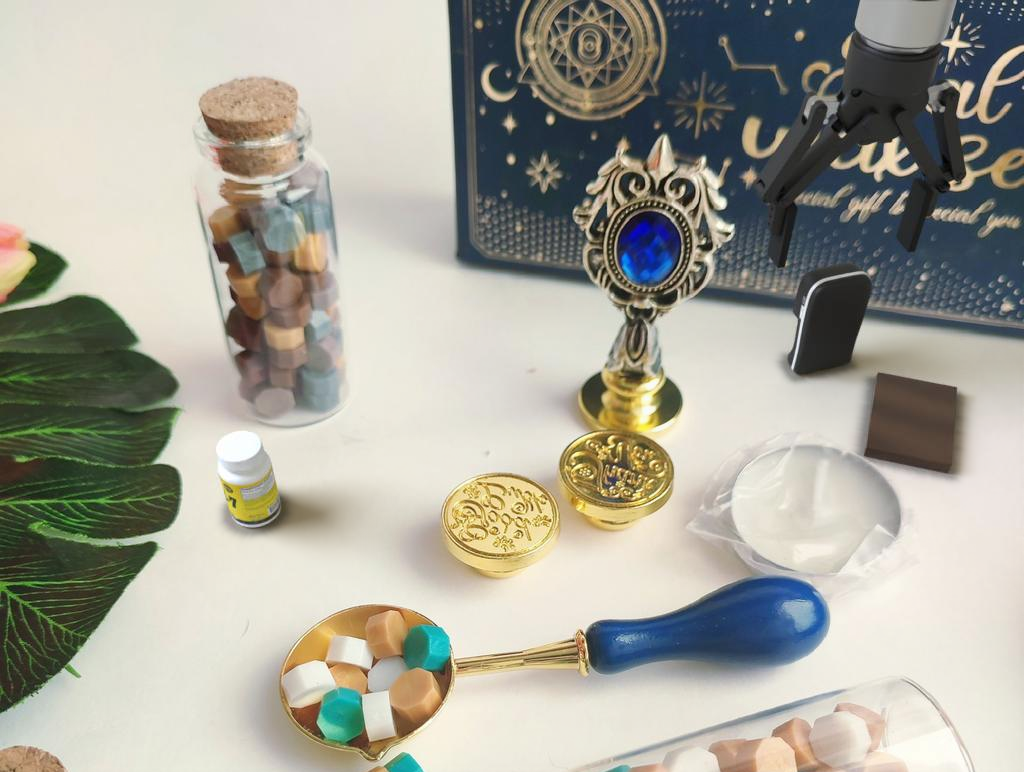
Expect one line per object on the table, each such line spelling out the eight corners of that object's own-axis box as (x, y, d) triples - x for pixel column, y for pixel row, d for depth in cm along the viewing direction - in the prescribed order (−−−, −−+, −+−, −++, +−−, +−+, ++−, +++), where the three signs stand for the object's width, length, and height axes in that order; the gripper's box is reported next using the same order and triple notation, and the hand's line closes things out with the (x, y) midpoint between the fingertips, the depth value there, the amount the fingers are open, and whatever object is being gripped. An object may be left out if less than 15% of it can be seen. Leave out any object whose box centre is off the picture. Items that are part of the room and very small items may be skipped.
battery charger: (835, 343, 117) (859, 253, 109) (852, 364, 115) (878, 274, 107) (777, 355, 116) (796, 265, 108) (793, 377, 113) (815, 287, 105)
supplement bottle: (225, 501, 102) (206, 435, 96) (273, 486, 103) (258, 421, 97) (238, 535, 99) (219, 470, 93) (288, 519, 100) (272, 454, 94)
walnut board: (874, 380, 113) (877, 371, 112) (954, 395, 111) (957, 386, 110) (863, 456, 105) (866, 447, 104) (948, 473, 104) (951, 464, 103)
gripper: (1010, 5, 95) (940, 218, 110) (742, 29, 91) (708, 245, 107) (1057, 41, 90) (976, 259, 105) (774, 68, 86) (733, 289, 102)
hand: (841, 252), depth 106 cm, fingers open, 13 cm apart
